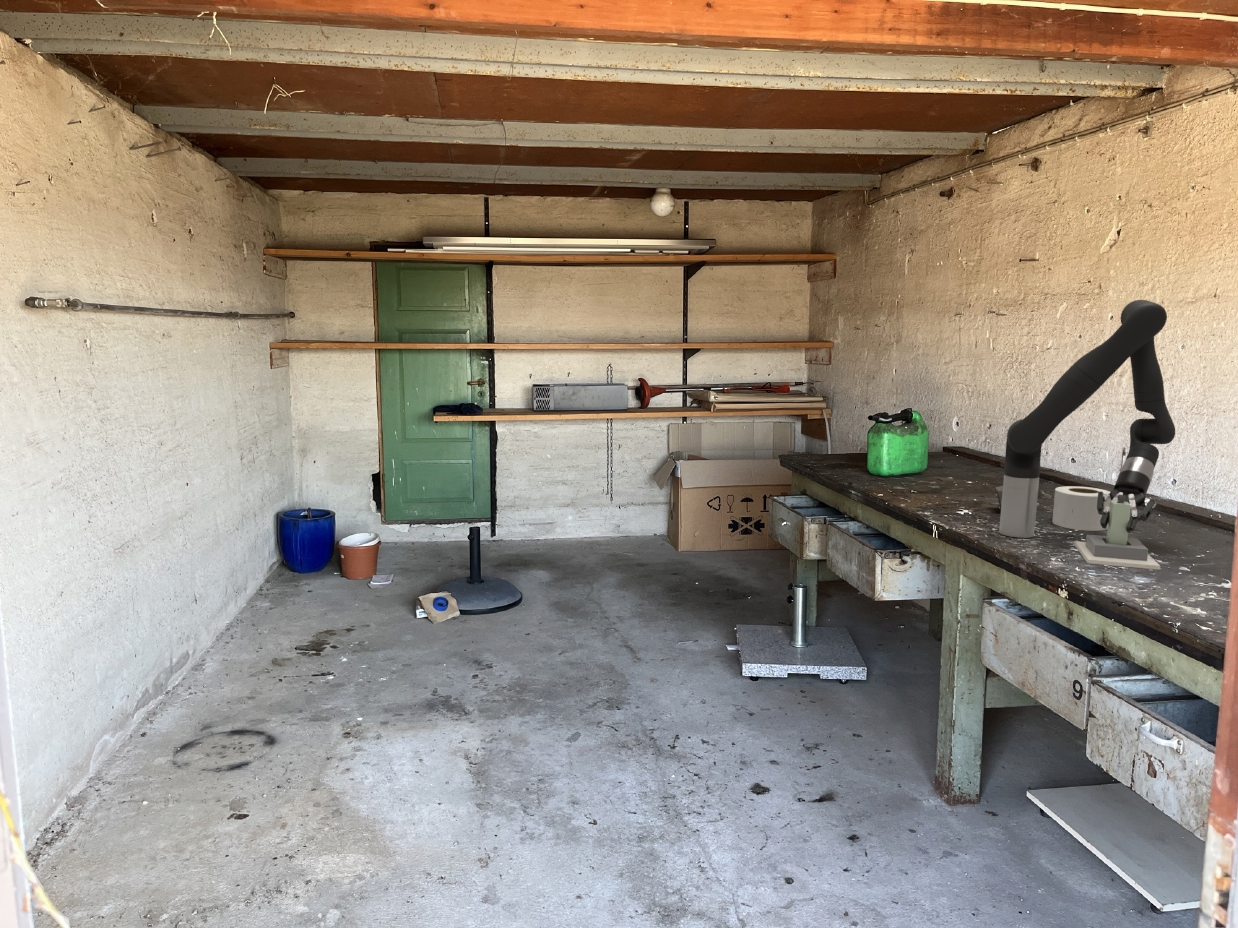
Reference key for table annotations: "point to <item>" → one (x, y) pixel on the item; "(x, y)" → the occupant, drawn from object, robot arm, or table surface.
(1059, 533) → the table surface
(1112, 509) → the plug
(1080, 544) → the plate
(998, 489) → the electrical switch
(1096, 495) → the roll of tape
